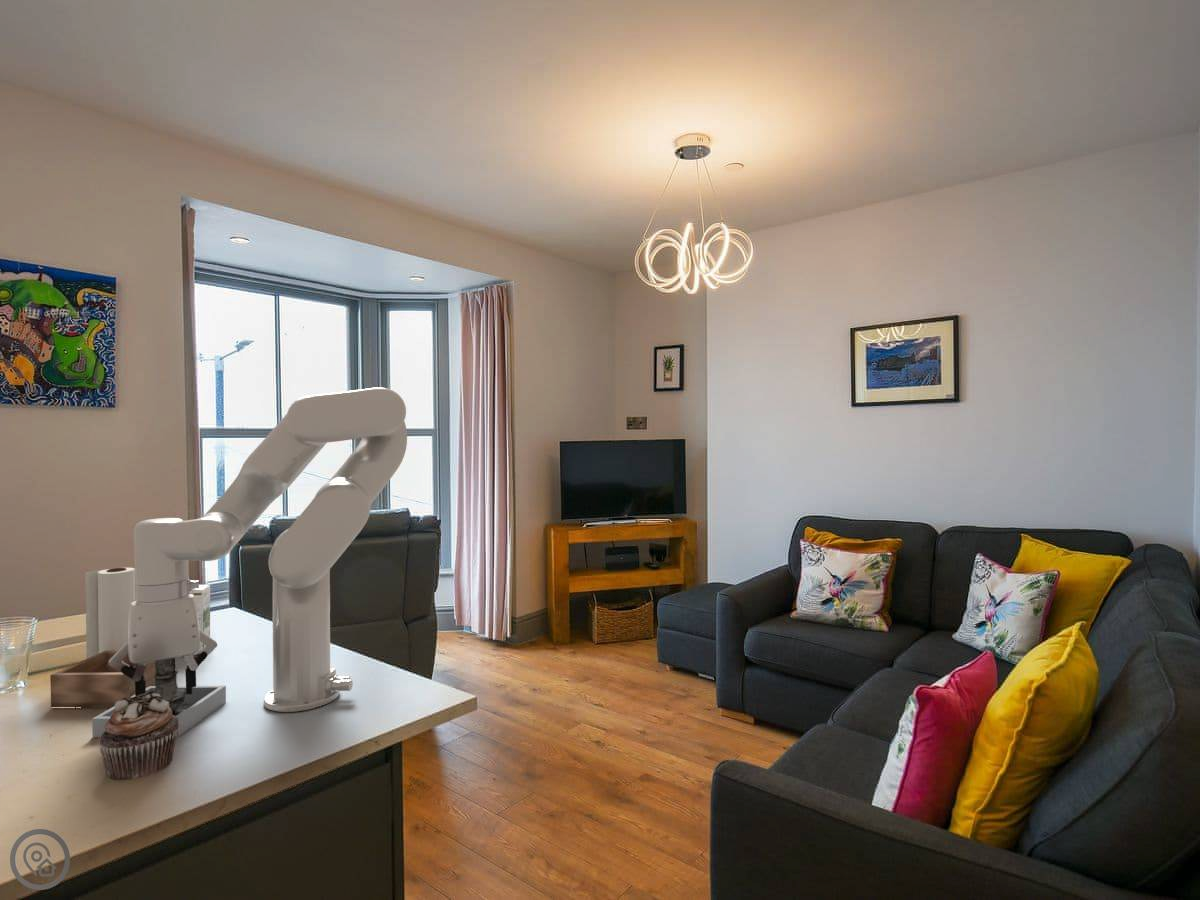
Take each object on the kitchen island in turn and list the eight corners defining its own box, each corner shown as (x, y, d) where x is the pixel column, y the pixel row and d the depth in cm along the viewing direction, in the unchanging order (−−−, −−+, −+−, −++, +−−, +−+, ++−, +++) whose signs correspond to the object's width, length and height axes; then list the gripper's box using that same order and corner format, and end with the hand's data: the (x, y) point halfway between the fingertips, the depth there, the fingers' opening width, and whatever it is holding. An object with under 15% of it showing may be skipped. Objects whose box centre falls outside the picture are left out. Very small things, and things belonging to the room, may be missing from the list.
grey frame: (225, 702, 118) (225, 685, 118) (178, 736, 104) (178, 717, 104) (149, 702, 118) (149, 686, 118) (92, 737, 104) (92, 718, 104)
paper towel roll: (143, 671, 134) (142, 567, 133) (115, 681, 128) (113, 573, 127) (116, 668, 135) (114, 565, 135) (86, 678, 130) (85, 571, 129)
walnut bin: (172, 680, 128) (172, 650, 128) (125, 708, 115) (125, 674, 115) (105, 681, 128) (105, 650, 128) (50, 708, 115) (50, 674, 115)
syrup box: (181, 649, 148) (180, 585, 147) (211, 646, 149) (210, 583, 149) (173, 657, 142) (172, 591, 142) (204, 654, 144) (203, 589, 144)
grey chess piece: (167, 725, 108) (164, 653, 107) (137, 723, 109) (134, 652, 109) (195, 710, 114) (193, 642, 113) (167, 708, 115) (164, 640, 114)
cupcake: (86, 771, 93) (84, 702, 93) (159, 744, 102) (158, 680, 102) (118, 790, 89) (117, 717, 88) (193, 759, 97) (192, 693, 97)
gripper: (218, 580, 119) (222, 678, 119) (99, 595, 109) (103, 702, 109) (223, 587, 113) (227, 691, 113) (98, 604, 103) (102, 718, 103)
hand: (166, 695), depth 111 cm, fingers closed on grey chess piece, 5 cm apart
